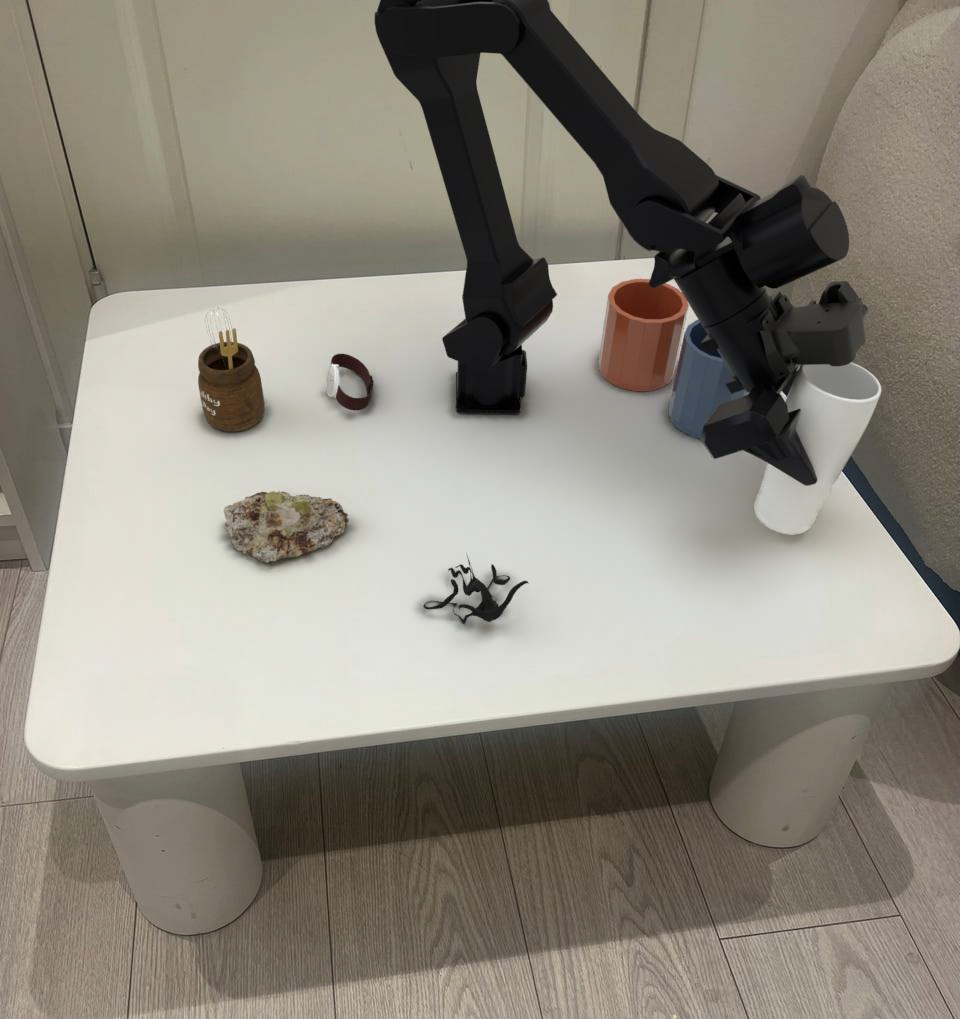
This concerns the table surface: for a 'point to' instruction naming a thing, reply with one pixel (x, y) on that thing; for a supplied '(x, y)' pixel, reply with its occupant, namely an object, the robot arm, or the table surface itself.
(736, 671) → the table surface
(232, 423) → the utensil holder
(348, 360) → the watch
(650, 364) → the terracotta cup
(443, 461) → the table surface
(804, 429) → the drinking glass
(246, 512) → the mineral rock
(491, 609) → the creature
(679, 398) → the blue tumbler
